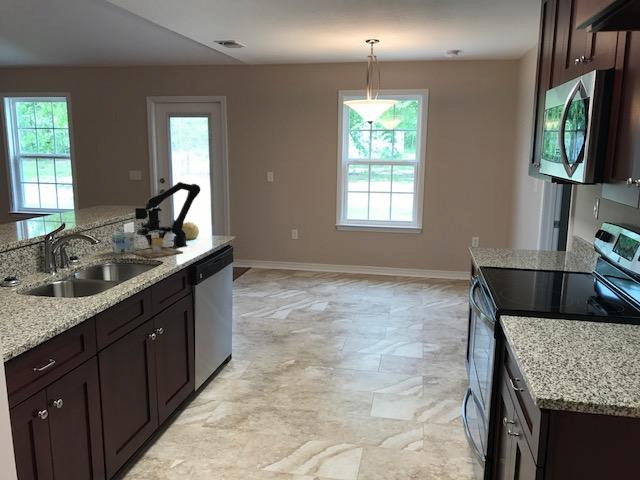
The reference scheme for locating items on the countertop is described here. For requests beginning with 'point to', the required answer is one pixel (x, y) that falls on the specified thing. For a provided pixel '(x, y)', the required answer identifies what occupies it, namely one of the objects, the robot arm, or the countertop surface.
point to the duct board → (164, 252)
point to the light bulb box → (123, 242)
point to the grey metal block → (156, 249)
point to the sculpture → (190, 230)
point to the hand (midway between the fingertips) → (155, 244)
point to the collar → (156, 242)
